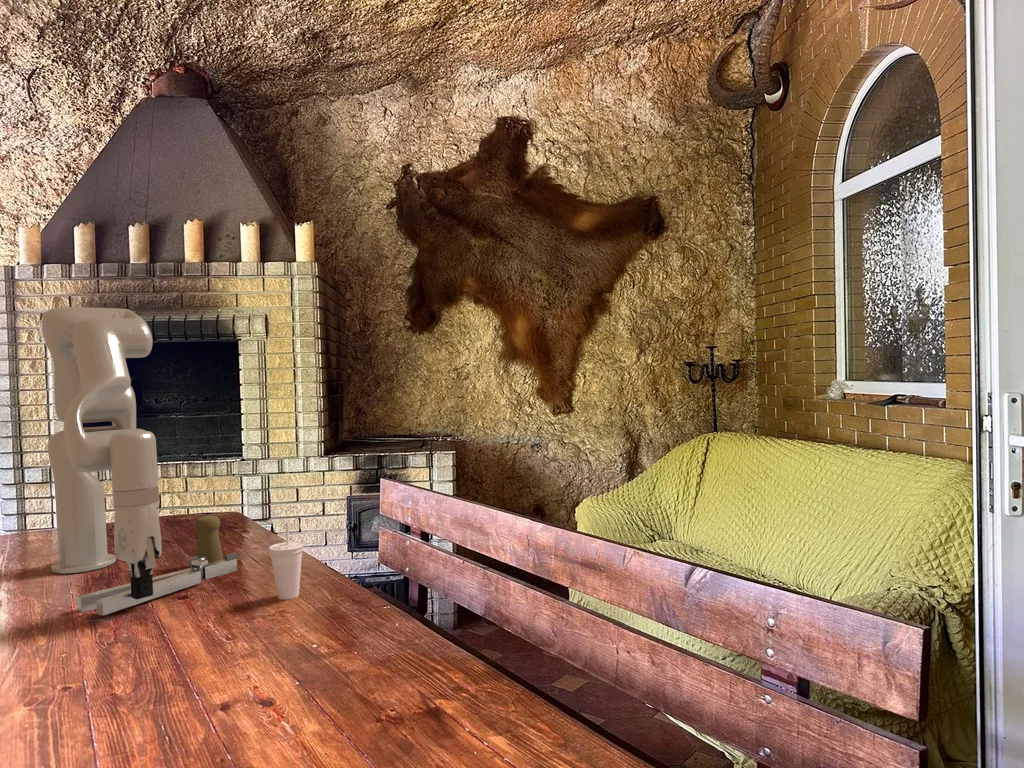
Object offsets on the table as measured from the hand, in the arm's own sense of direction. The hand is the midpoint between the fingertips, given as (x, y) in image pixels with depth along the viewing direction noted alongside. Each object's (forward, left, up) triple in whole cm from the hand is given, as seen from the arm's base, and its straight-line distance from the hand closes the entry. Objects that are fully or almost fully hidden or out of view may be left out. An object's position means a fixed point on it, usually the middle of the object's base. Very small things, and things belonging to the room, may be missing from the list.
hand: (142, 596), depth 128 cm
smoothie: (+18, +19, -2) cm, 26 cm away
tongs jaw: (-5, +4, -2) cm, 7 cm away
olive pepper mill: (-17, +21, -2) cm, 27 cm away
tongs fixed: (-8, +8, -2) cm, 11 cm away
